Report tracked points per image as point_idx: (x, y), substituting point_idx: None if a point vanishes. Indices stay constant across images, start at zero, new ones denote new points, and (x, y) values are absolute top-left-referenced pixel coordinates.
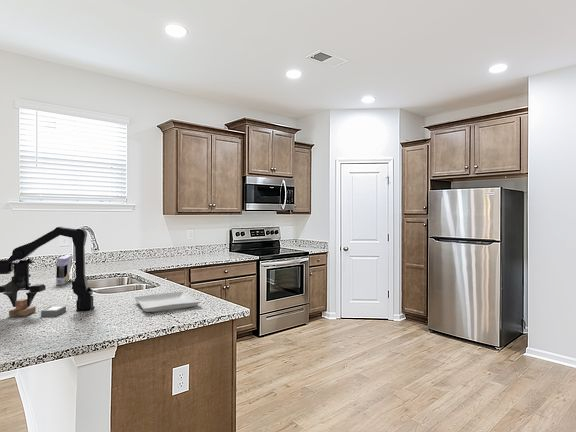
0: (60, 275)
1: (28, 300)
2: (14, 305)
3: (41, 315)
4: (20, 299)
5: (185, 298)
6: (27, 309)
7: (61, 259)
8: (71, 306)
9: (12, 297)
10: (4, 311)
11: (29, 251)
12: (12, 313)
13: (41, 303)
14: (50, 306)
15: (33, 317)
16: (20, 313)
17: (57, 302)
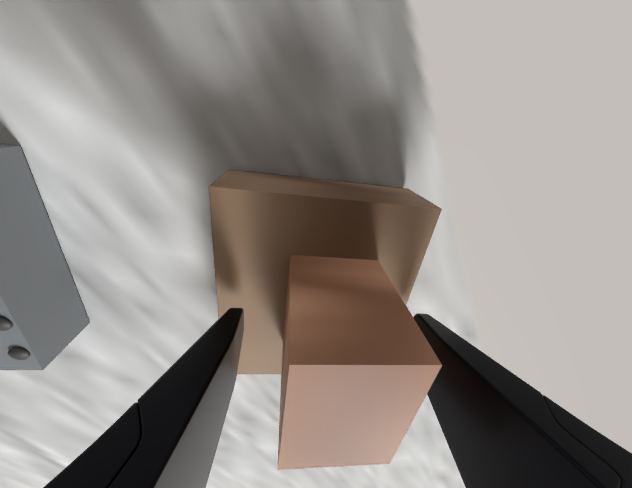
0: None
1: (167, 395)
2: (424, 330)
3: (2, 147)
4: (386, 446)
5: None
6: (221, 253)
7: None
8: (43, 430)
9: (570, 479)
10: (481, 351)
11: None
12: (383, 194)
13: (318, 469)
14: (40, 366)
15: (86, 104)
16: (284, 184)
17: (234, 482)
